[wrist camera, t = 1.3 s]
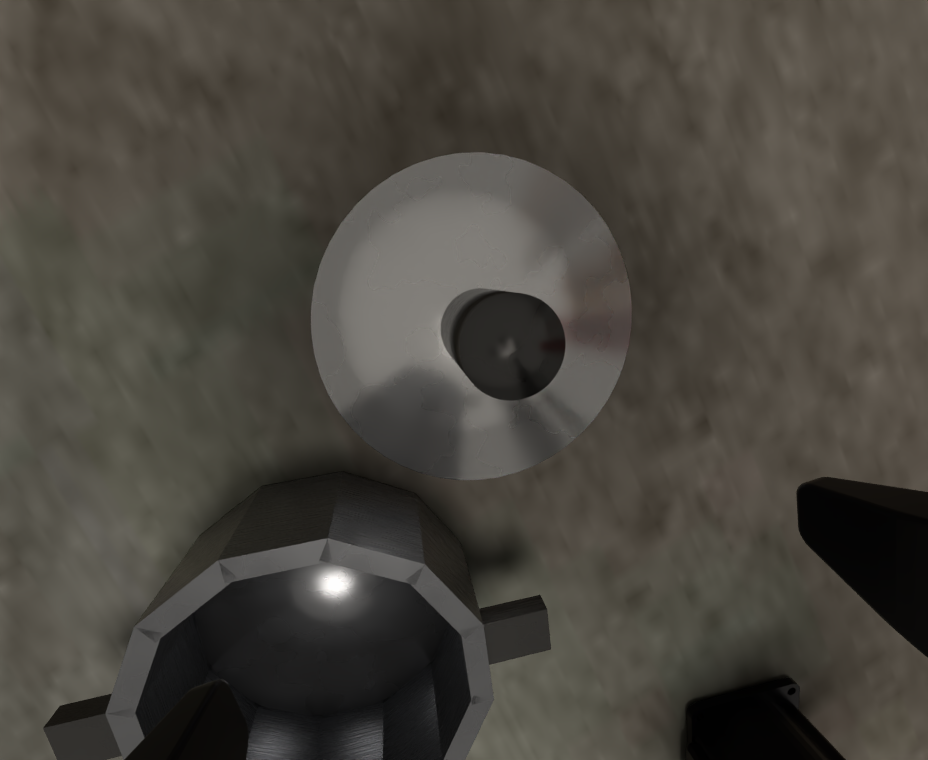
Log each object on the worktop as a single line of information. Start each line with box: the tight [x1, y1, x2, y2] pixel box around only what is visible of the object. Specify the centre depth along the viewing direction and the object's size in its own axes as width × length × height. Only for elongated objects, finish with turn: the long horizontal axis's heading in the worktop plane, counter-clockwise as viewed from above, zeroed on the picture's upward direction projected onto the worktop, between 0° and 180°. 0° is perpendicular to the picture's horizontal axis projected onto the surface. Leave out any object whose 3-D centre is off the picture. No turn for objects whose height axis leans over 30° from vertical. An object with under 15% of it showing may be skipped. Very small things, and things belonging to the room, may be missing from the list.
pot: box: [43, 472, 551, 760], centre depth 18 cm, size 17×12×5 cm
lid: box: [311, 152, 632, 480], centre depth 16 cm, size 13×13×6 cm
